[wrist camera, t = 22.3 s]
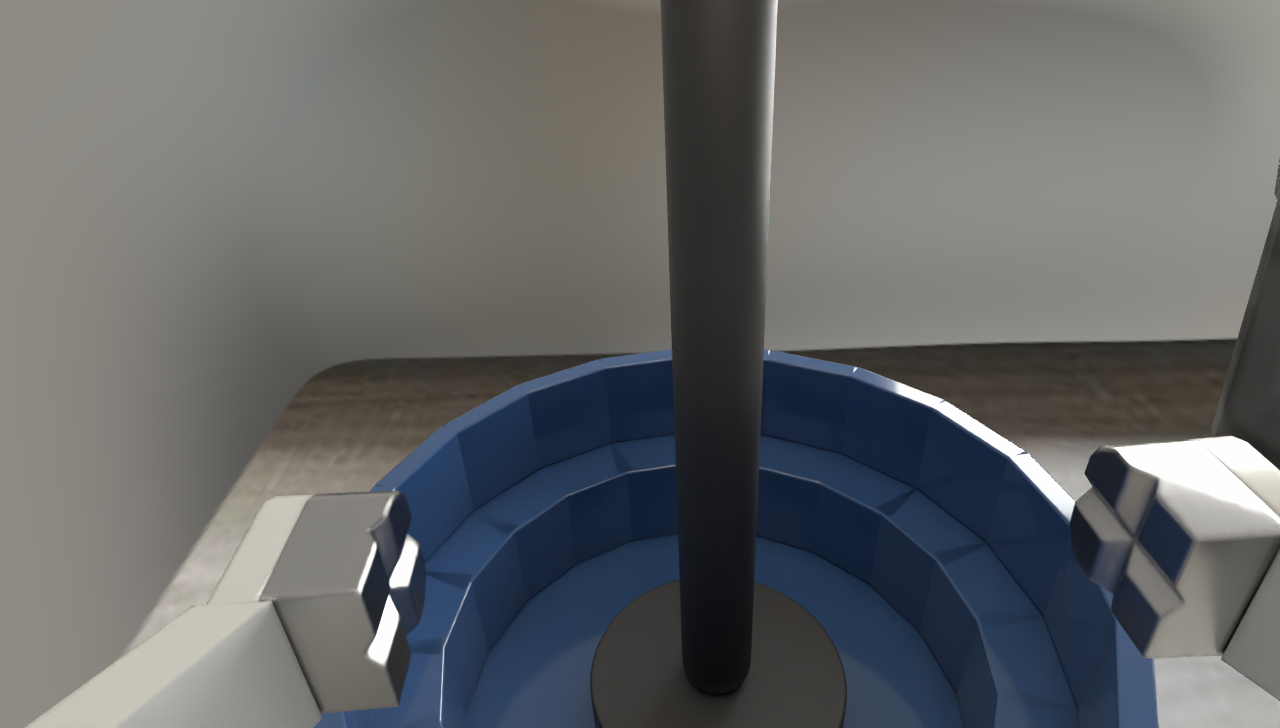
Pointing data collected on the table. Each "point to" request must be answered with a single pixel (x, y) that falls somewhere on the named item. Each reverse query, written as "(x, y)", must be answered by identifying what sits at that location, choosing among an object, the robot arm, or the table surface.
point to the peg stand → (717, 413)
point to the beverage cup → (1257, 359)
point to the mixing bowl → (785, 553)
